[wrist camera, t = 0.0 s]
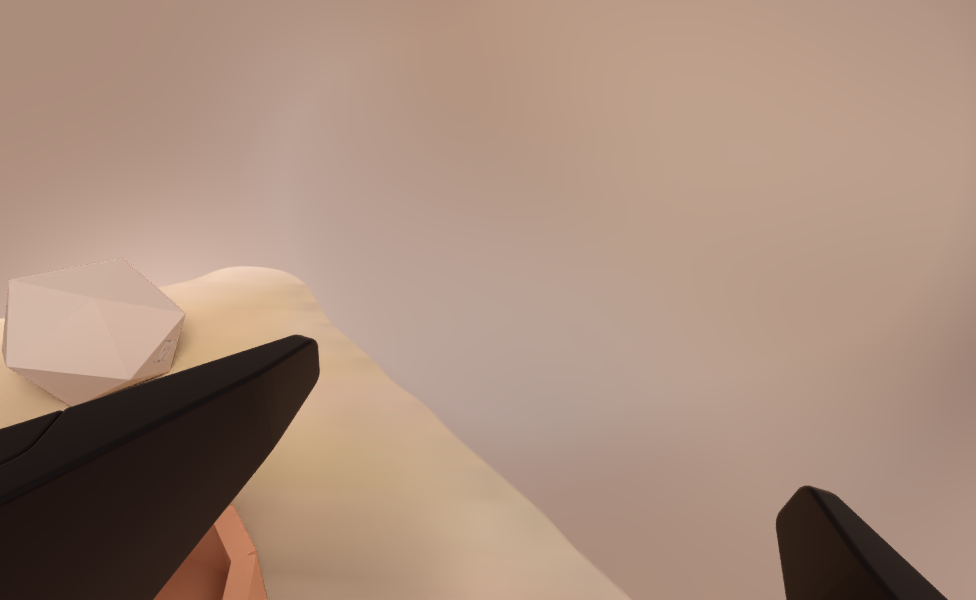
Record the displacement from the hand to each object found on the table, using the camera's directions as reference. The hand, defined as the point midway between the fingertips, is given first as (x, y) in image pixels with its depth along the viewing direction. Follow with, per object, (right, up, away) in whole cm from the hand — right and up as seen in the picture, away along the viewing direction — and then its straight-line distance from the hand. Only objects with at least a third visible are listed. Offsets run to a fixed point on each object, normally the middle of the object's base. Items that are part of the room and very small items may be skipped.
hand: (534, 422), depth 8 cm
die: (-26, -3, +20) cm, 33 cm away
